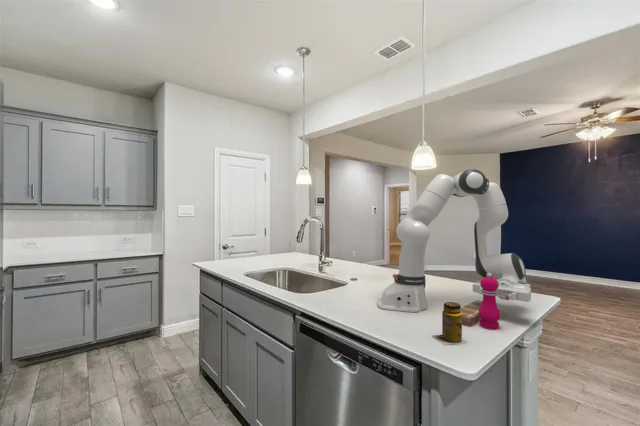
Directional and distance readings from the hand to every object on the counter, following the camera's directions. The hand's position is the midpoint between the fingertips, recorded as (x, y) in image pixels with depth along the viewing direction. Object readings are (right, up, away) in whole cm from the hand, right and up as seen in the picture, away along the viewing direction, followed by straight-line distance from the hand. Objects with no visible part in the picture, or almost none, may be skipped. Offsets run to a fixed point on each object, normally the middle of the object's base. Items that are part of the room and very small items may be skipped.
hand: (494, 294), depth 116 cm
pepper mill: (-3, -11, -3) cm, 12 cm away
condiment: (-23, -11, -14) cm, 30 cm away
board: (-3, -11, +9) cm, 14 cm away
